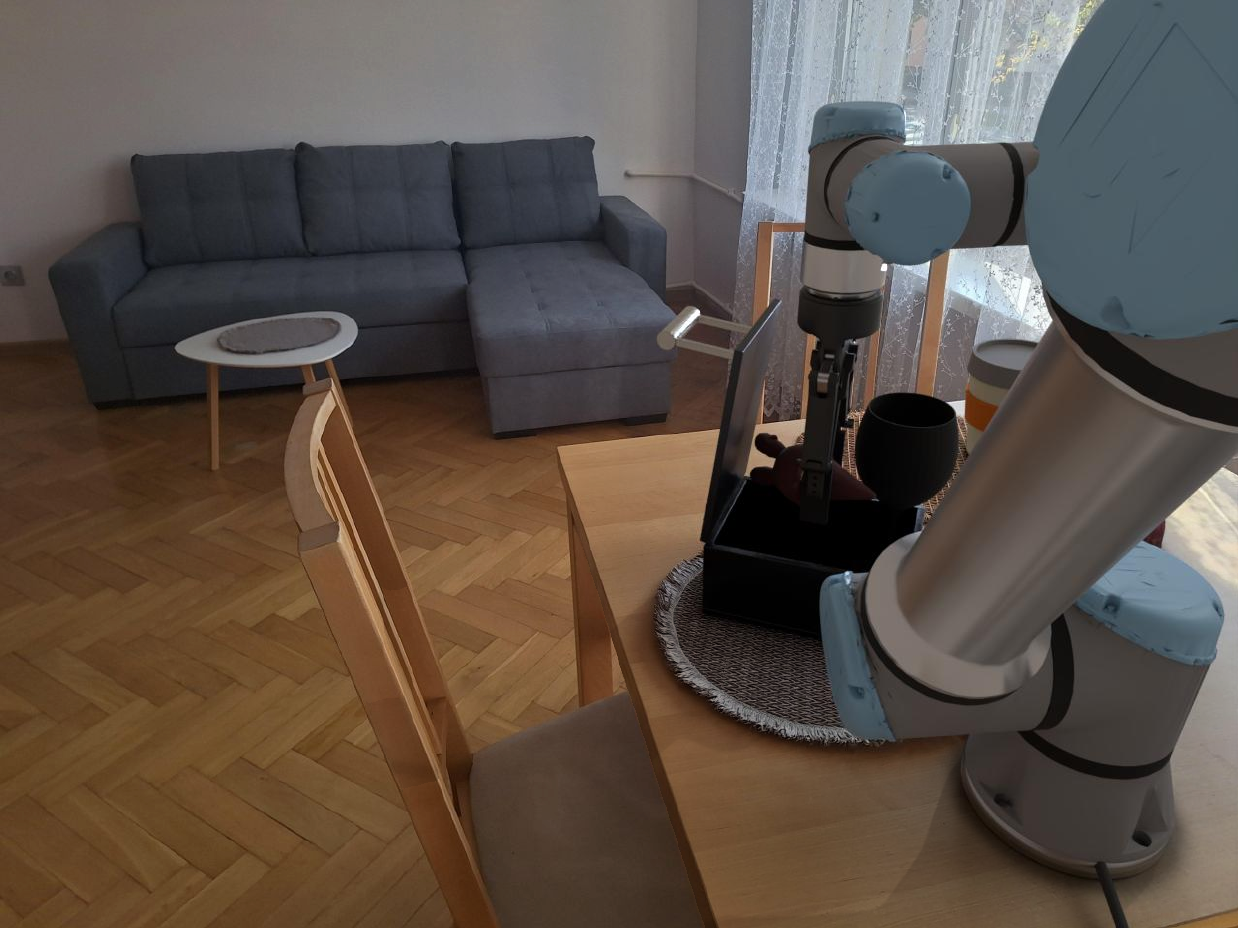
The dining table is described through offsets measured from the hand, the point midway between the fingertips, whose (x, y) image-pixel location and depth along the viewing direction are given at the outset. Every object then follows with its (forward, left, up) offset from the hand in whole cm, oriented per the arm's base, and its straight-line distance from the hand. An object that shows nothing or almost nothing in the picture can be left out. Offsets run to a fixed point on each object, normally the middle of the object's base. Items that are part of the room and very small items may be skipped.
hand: (820, 501), depth 87 cm
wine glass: (+7, -7, -2) cm, 10 cm away
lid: (0, +8, +8) cm, 12 cm away
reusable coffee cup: (+41, -19, -12) cm, 47 cm away
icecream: (0, +1, -1) cm, 1 cm away
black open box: (0, 0, -12) cm, 12 cm away
